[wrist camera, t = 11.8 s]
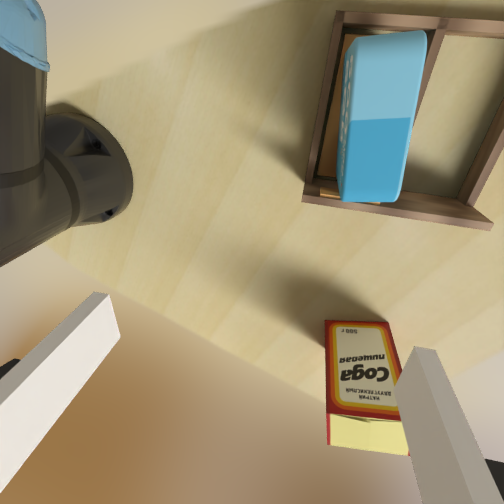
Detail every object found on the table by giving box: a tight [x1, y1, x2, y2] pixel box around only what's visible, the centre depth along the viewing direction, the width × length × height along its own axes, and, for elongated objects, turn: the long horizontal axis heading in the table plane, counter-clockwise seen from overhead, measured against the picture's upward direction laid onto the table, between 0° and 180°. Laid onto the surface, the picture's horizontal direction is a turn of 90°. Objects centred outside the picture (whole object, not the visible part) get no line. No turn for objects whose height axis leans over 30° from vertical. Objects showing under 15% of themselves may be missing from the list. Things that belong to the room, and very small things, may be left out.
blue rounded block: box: [336, 30, 427, 202], centre depth 26 cm, size 12×4×12 cm, turn 4°
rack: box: [301, 10, 504, 231], centre depth 28 cm, size 18×17×7 cm
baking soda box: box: [325, 320, 410, 456], centre depth 40 cm, size 10×6×16 cm
